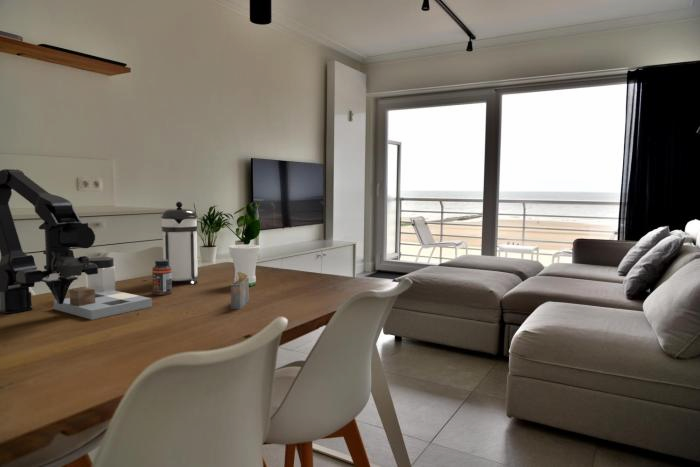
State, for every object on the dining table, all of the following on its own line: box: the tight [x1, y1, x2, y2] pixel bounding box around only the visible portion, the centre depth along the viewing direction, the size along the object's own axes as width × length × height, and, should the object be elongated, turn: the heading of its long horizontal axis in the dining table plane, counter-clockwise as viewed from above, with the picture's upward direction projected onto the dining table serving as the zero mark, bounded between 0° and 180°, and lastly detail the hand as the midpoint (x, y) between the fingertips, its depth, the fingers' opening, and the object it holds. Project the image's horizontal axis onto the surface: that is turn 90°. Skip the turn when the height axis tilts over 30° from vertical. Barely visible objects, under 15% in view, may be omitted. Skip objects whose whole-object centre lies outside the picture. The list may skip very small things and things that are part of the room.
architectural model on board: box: [230, 272, 250, 310], centre depth 149 cm, size 11×3×10 cm, turn 179°
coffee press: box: [160, 201, 198, 285], centre depth 184 cm, size 17×16×30 cm
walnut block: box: [69, 286, 95, 306], centre depth 138 cm, size 5×5×4 cm
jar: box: [84, 256, 116, 293], centre depth 160 cm, size 9×8×12 cm
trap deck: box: [53, 290, 153, 321], centre depth 144 cm, size 18×20×2 cm
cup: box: [228, 244, 261, 287], centre depth 180 cm, size 11×11×14 cm
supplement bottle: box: [151, 258, 173, 296], centre depth 163 cm, size 6×6×11 cm
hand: (60, 303), depth 134 cm, fingers closed
